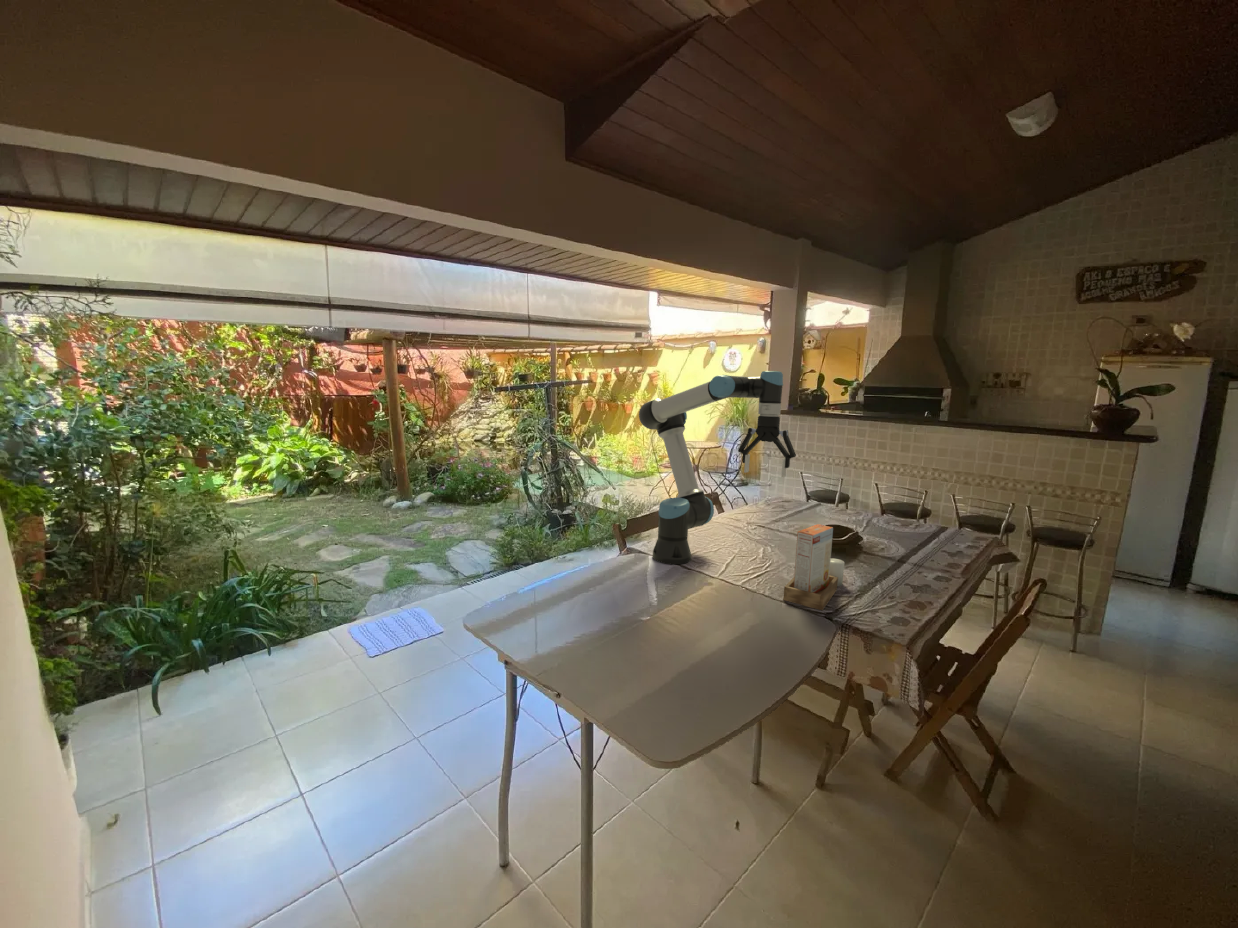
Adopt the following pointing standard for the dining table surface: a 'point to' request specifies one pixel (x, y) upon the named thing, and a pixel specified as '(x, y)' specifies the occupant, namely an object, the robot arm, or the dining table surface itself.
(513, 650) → the dining table surface
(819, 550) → the cracker box
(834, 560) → the cream rounded shape
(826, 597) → the tray
